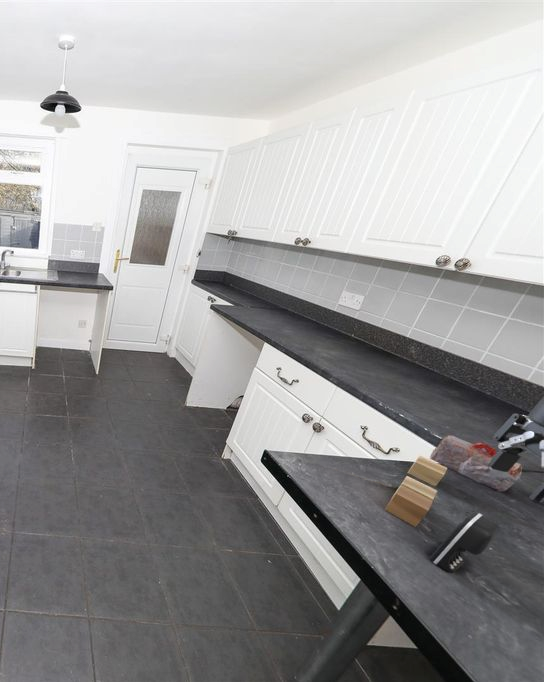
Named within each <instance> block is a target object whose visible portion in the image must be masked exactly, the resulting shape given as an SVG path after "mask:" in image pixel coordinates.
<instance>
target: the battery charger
mask: <svg viewBox="0 0 544 682" xmlns="http://www.w3.org/2000/svg"><path fill="white" fill-rule="evenodd" d="M500 532H501V526H500V525H499V524H498V523H496V522H495V521H493V520H491V519H489V518H488V517H486V516H485V515H484V514H481V513H480V512H477V511H472V512H470V513H469V514H468V515H466V516H465V517H464V518H463V519H462V520H461V521H460V522H459V523H458V524H457V525H456V527H455V528H454V529H453V530H452V531H451V532H450V533H449V535H448V536H447V537H446V538H445V540H443V542H441V544H440V545H439V546H438V547H437V548H436V550H435V551H434V552H433V553H432V554H431V555H430V556H429V560H430V561H431V562H432V563H433V564H434V565H436V566H438V567H440V568H441V569H443V570H445V571H446V572H449V573H452V574H453V573H455V572H456V571H457V570H458V569H460V568H461V567H462V566H463V565H464V563H465V561H464V559H463V555H462V553H464V552H468V553H470V554H472V555H475V556H477V555H481V554H482V553H483V552H484V551H485V550H486V549H487V548H488V547H489V546H490V545H492V543H493V542H494V540H495V539H496V538H497V537H498V535H500Z"/></svg>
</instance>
